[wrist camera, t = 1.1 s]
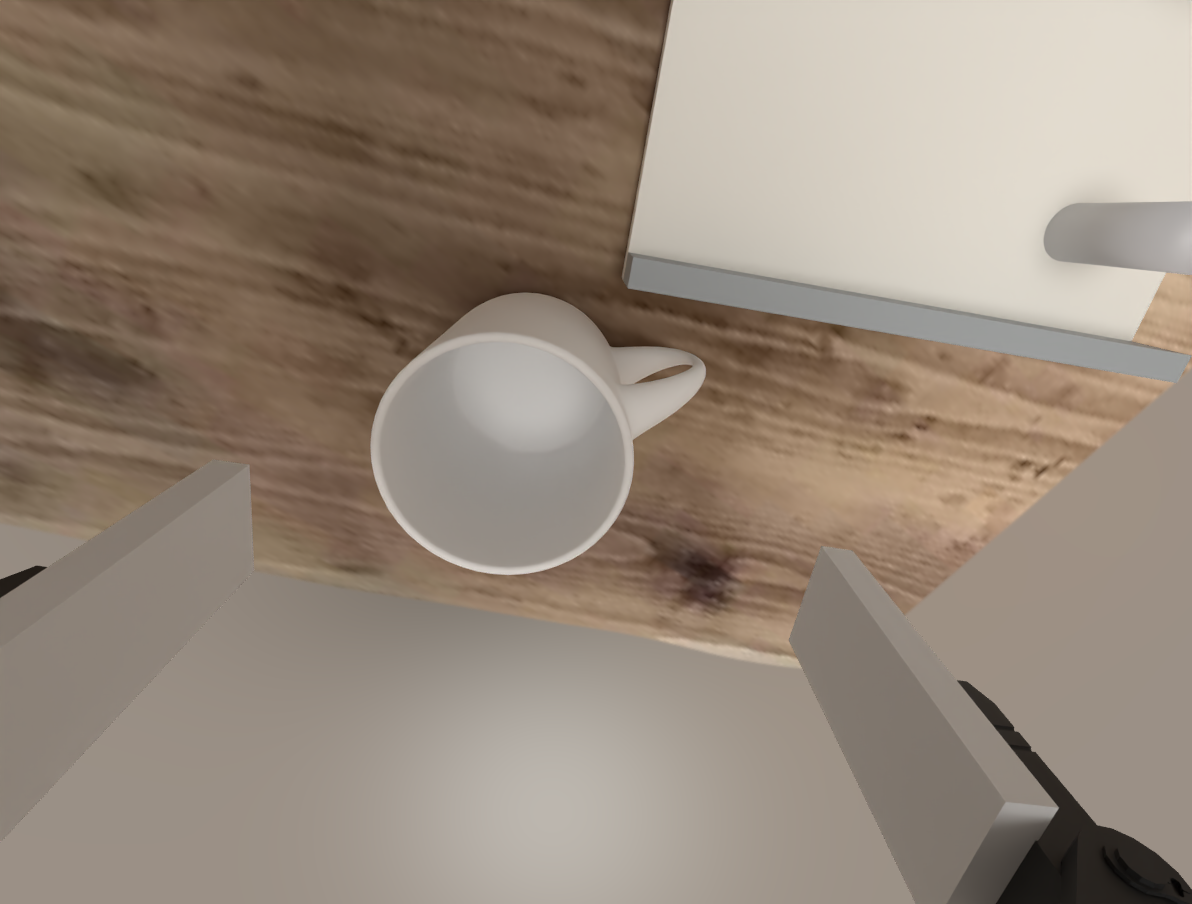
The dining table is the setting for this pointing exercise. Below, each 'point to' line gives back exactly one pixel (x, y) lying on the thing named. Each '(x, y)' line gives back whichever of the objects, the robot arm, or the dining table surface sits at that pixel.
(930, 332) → the channel board
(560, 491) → the mug
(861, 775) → the robot arm
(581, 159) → the dining table surface
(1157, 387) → the dining table surface
